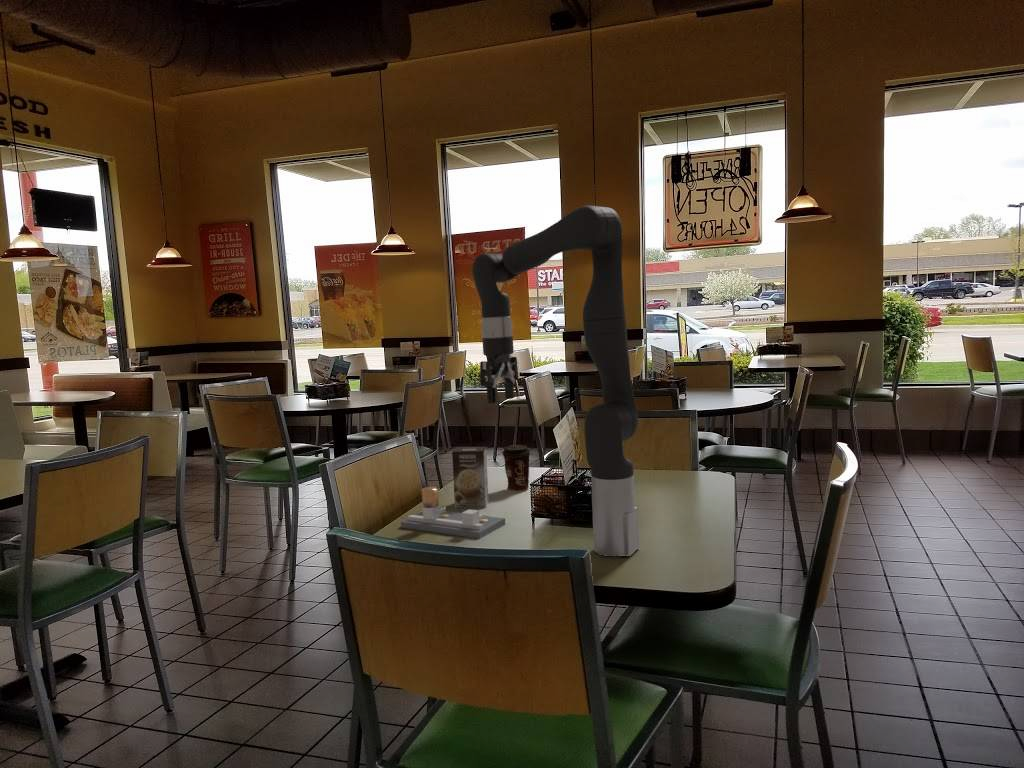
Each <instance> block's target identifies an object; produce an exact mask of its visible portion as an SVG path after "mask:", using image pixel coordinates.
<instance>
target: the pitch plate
mask: <svg viewBox="0 0 1024 768" xmlns="http://www.w3.org/2000/svg"><path fill="white" fill-rule="evenodd" d="M479 511H480V510H475V509H467V510H465V511H463V512H457V511H449V510H446V513H441V514H440V516H439V517H437V518H435V519H433V520H432V519H425V518H423V511H421V512H419V513H417V514H411V515H408V516H407V518H406V519H404V520H401V521H400V527H401V528H404V529H409V530H411V529H412V530H417V531H423V532H425V531H426V532H431V533H438V534H445V533H446V535H452V534H453V536H458V537H459V536H460V537H467V538H474V539H481V538H484V537H486V536H487V535H488V534H490V533H492V532H494V531H496V530H498V529H499V528H501V527H503V526H505V525H506V518H505V517H496V516H488V515H486V514H485V513H484V512H483V513H480V512H479Z"/></svg>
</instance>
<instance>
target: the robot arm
mask: <svg viewBox="0 0 1024 768" xmlns="http://www.w3.org/2000/svg"><path fill="white" fill-rule="evenodd" d="M573 250H585V251H591V256H592V258H591V259H592V268H593V269H592V279H591V283H590V287H589V290H588V292H587V296H586V298H585V301H584V303H583V304H584V305H583V309H582V324H583V335H584V342H585V346H586V349H587V351H588V354H589V355H590V358H591V360H592V361H593V363H594V365H595V367H596V369H597V371H598V374H599V376H600V381H601V386H602V388H601V389H602V398H603V399H602V403H599V404H596V405H594V406H592V407H590V409H589V410H588V411H587V413H586V414H585V415H586V416H585V418H584V428H583V430H584V441H585V453H586V460H587V463H588V465H589V466H588V467H589V469H590V474H591V475H590V476H591V479H590V480H591V505H592V508H591V509H592V530H593V531H592V533H593V535H592V536H593V552H594V551H595V552H596V553H598V554H601V555H607V556H619V555H628V556H629V555H631V554H632V553H633V552H634V551H635V550H637V549H638V548H639V549H640V533H639V531H640V530H639V528H640V527H639V507H637V506H635V481H634V480H635V479H634V478H635V475H634V463H633V462H632V460H631V459H628V458H625V456H624V446H623V445H624V444H623V442H625V441H629V440H630V439H631V438H633V437H634V436H635V434H636V433H637V432H636V431H637V430H638V425H639V416H638V410H637V408H638V407H637V405H636V399H635V393H634V388H633V384H632V377H631V368H630V367H631V366H630V354H629V347H628V329H627V318H626V309H625V297H624V284H623V283H624V282H623V226H622V221H621V218H620V216H619V214H618V212H617V211H616V210H614V209H613V208H611V207H608V206H607V207H606V206H598V205H583V206H580V207H577V208H576V209H574V210H573V211H571V212H570V213H568V214H567V215H565V216H563V217H562V218H561V219H559V220H558V221H557V222H555V223H554V224H552V225H550V226H549V227H547V228H545V229H543V230H542V231H539V232H538V233H536V234H534V235H532V236H529V237H527V238H524V239H521V240H519V241H517V242H514V243H512V244H510V245H508V246H507V247H506V248H505V249H504V251H503V252H502V253H501V252H499V253H489V252H487V253H486V252H485V253H480V254H478V255H477V256H476V257H475V258H474V260H473V263H472V267H471V270H472V272H471V273H472V277H473V281H474V284H475V287H476V290H477V294H478V297H479V299H480V305H481V306H480V307H481V337H482V354H483V355H484V356H485V357H486V356H487V360H485V361H480V363H479V366H480V368H479V369H480V386H481V387H484V388H486V395H487V399H486V400H487V403H488V404H496V403H497V402H498V399H497V388H496V386H497V384H498V381H500V379H501V378H502V379H503V381H504V395H505V399H507V400H509V399H511V400H512V399H514V398H515V387H514V384H515V383H516V381H518V380H519V369H518V368H519V367H518V358H517V356H510V355H512V354H514V335H513V324H512V317H511V306H510V305H511V303H510V302H511V300H510V296H509V295H508V293H506V292H503V291H501V290H499V287H498V284H497V283H506V282H509V281H511V280H513V279H515V278H516V277H518V276H519V275H521V274H523V273H525V272H528V271H531V270H533V269H536V268H538V267H540V266H542V265H544V264H546V263H547V262H548V261H549V260H550V259H552V258H553V257H554V256H555V255H557V254H560V253H564V252H568V251H573ZM485 378H486V379H485ZM639 549H638V550H639ZM638 550H637V551H638ZM595 552H594V553H595ZM596 553H595V554H596ZM598 554H597V555H598ZM601 555H600V556H601Z"/></svg>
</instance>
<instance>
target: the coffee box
mask: <svg viewBox="0 0 1024 768" xmlns="http://www.w3.org/2000/svg"><path fill="white" fill-rule="evenodd" d="M451 455H452V456H451V458H452V473H453V495H454V497H453V498H454V508H455V509H459V508H460V509H461V508H463V509H464V508H465V509H468V508H470V509H471V508H473V509H474V508H476V509H477V508H487V506H488V504H489V501H490V500H489V483H488V482H489V481H488V479H489V478H488V456H487V455H488V454H487V447H486V446H455V447H454V448H453V450H452V452H451Z"/></svg>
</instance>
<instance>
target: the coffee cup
mask: <svg viewBox="0 0 1024 768" xmlns="http://www.w3.org/2000/svg"><path fill="white" fill-rule="evenodd" d="M530 455H531V452H530V450H529V449H528V446H527V445H523V444H511V445H507V446H504V447H503V451H502V456H503V458H504V459H503V460H504V471H505V474H506V478H507V488H506V489H507V491H508V492H512V493H524V492H526V491H528V489H529V483H530V479H529V478H530Z"/></svg>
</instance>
